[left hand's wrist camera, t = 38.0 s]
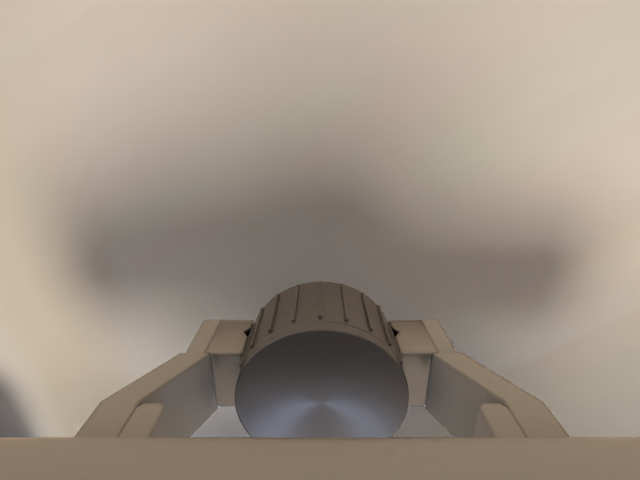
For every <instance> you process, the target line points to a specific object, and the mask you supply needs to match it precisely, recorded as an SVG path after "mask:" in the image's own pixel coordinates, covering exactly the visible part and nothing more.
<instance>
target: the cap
mask: <svg viewBox="0 0 640 480" xmlns="http://www.w3.org/2000/svg"><path fill="white" fill-rule="evenodd" d="M401 364H404V363H403V360H402V357H401V354H400V351H399V348H398V346H397V343H396V340H395V337H394V334H393V331H392V328H391V325H390V322H387V320H386V318H385V316H384V314H383V313H382V311H381V308H380V306H379V305H378V306H377V305H376V304H375V303H374V302H373V301H372V300H371V299H370V298H369V297H367V296H366V295H365V294H364V293H363V292H362V293H361V292H359V291H358V290H355V289H353V288H351V287H348V286H345V285H343V284H337V283H332V282H311V283H306V284H301V285H296V286H294V287H292V288H290V289H287V290H285V291H283V292H282V293H280V294H277V295H276V297H274V298H273V299H272V300H271V301H269V302H268V304H267V305H266V306H265V307H264V308H263V307H262V308H261V310H260V314H259V315H258V317H257V319H256V321H255V324H253V325H252V328H251V330H250V333H249V336H248V341H247V344H246V347H245V350H244V353H243V355H242V358H241V361H240V364H239V367H241V369H240V373H239V376H238V379H237V382H236V387H235V406H236V411H237V414H238V416H239V419H240V421H241V423H242V425H243V427H244V428H245V430H246V431H247V432H248V433H249V435H250V436H251V437H252V438H347V437H392V436H393V435H394V434H395V432H396V431H397V430H398V429H399V427H400V425H401V424H402V422H403V420H404V417H405V415H406V412H407V408H408V403H409V390H408V384H407V379H406V376H405V373H404V371H403V368H402V365H401Z"/></svg>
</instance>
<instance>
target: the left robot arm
mask: <svg viewBox="0 0 640 480" xmlns="http://www.w3.org/2000/svg"><path fill="white" fill-rule="evenodd" d="M388 322H390V325H391V328H392V331H393V334H394V337H395V340H396V343H397V346H398V348H399V351H400V354H401V357H402V360H403V363H404V364H401V365H402V368H403V371H404V373H405V376H406V379H407V384H408V390H409V403H408V406H425V408H426V409H427V410H428V411H429V412H430V413H431V414H432V415H433V416H434V417H435V418H436V419H437V420H438V421H439V422H440V423H441V425H442V426H443V427H444V428H445V429H446V430H447V431H448V432H449V433H450V434H451V435H452V436H453V437H454V438H430V437H347V438H189V437H190V436H191V435H192V434H193V433H194V432H195V431H196V430H197V429H198V428H199V427H200V426H201V425H202V424H203V423H204V422H205V421H206V420H207V418H208V417H209V416H210V415H211V414H212V413H213V412H214V411H215V410H216V409H217V408H218V407H217V406H235V387H236V382H237V379H238V376H239V373H240V369H241V367H239V364H240V361H241V358H242V355H243V353H244V350H245V347H246V344H247V341H248V336H249V333H250V330H251V328H252V325H253V324H255V321H254V320H205V321H204V322H203V323H202V325H201V327H200V328H199V330H198V332H197V334H196V335H195V337H194V339H193V341H192V343H191V344H190V346H189V348H188V350H187V352H186V353H180V354H179V355H177V356H175V357H174V358H172V359H170V360H169V361H167V362H166V363H164V364H162V365H161V366H159V367H157V368H156V369H154V370H152V371H151V372H149V373H147V374H146V375H144V376H143V377H141V378H139V379H138V380H136V381H134V382H133V383H131V384H129V385H128V386H126V387H124V388H123V389H121V390H120V391H118V392H116V393H115V394H113V395H111V396H110V397H108V398H106V399H105V400H103V401H102V402H101V403H100V404H99V405H98V407H97V408H96V409H95V410H94V412H93V413H92V414H91V416H90V417H89V418H88V420H87V421H86V422H85V424H84V425H83V426H82V428H81V429H80V430H79V432H78V433H77V434H76V435H75V437H0V480H640V437H570V436H569V435H568V434H567V433H566V431H565V430H564V429H563V427H562V426H561V425H560V423H559V422H558V421H557V420H556V418H555V417H554V416H553V414H552V413H551V412H550V410H549V409H548V408H547V406H546V405H545V404H544V403H543V402H542V401H540V400H539V399H537V398H535V397H534V396H532V395H530V394H529V393H527V392H525V391H524V390H522V389H521V388H519V387H517V386H516V385H514V384H512V383H511V382H509V381H507V380H506V379H504V378H502V377H501V376H499V375H497V374H496V373H494V372H492V371H491V370H489V369H488V368H486V367H484V366H483V365H481V364H479V363H478V362H476V361H474V360H473V359H471V358H469V357H468V356H466V355H464V354H463V353H457V351H456V350H455V348H454V346H453V345H452V343H451V341H450V339H449V338H448V336H447V334H446V333H445V331H444V329H443V327H442V326H441V324H440V322H439V321H438V320H412V321H388Z"/></svg>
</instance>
